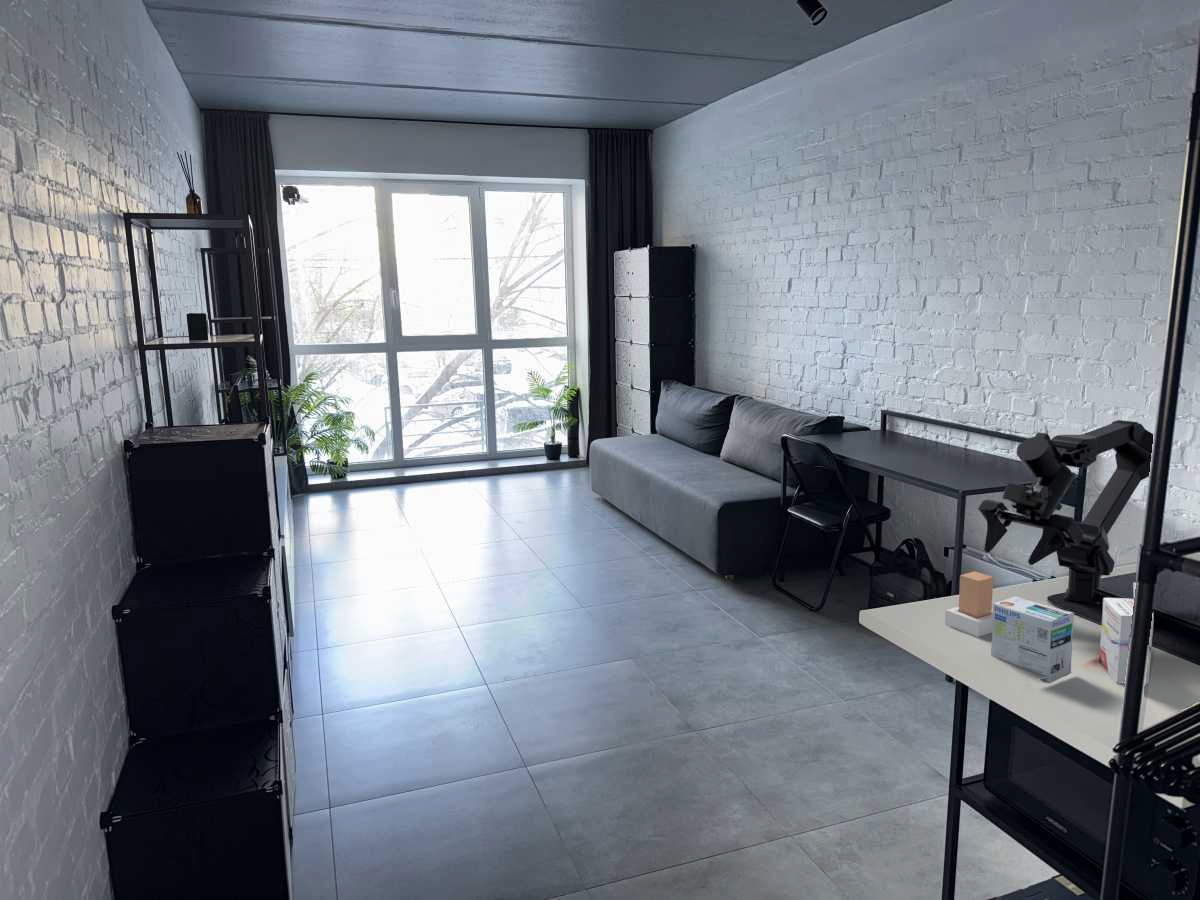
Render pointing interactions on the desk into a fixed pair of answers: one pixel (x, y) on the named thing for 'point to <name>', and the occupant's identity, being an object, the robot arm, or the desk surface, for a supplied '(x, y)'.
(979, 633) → the white square socket
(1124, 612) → the ink cartridge box
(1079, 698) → the desk surface
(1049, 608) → the light bulb box
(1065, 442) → the robot arm
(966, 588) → the plug
